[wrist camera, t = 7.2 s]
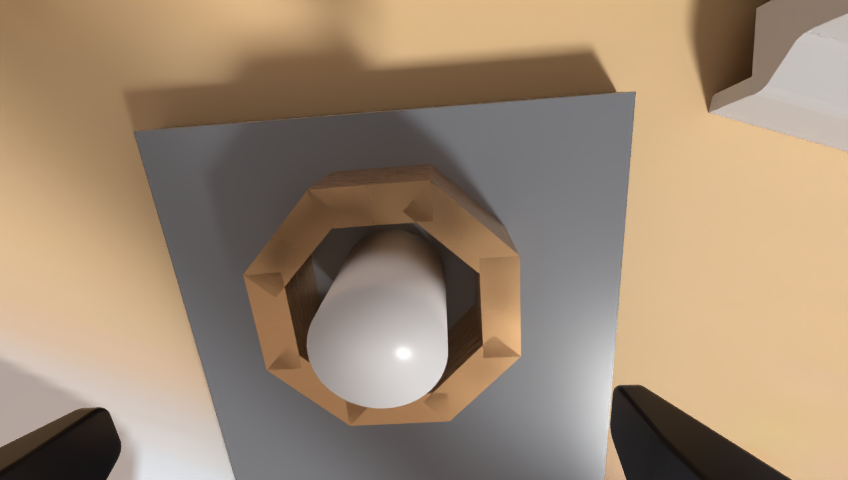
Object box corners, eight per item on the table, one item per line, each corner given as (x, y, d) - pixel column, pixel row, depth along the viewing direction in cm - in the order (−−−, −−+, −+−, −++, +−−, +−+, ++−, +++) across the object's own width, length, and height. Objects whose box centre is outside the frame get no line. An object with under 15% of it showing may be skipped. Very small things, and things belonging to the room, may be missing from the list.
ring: (508, 366, 14) (521, 418, 12) (305, 376, 15) (281, 429, 12) (503, 157, 12) (518, 172, 10) (262, 177, 12) (223, 196, 10)
